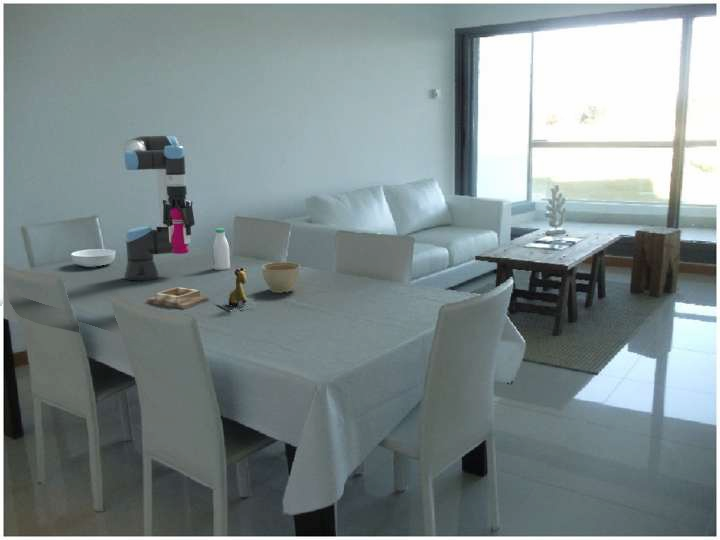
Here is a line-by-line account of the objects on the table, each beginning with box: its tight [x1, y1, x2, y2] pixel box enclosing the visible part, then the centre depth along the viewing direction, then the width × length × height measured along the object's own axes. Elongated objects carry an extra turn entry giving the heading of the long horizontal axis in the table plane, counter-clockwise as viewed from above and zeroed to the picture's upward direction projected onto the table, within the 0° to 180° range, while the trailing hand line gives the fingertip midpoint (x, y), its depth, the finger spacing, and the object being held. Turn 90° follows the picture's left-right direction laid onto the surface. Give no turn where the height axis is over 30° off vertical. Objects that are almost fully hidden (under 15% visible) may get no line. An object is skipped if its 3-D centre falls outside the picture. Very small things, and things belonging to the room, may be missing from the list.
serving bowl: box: [70, 248, 116, 268], centre depth 342 cm, size 21×21×7 cm
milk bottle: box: [212, 227, 231, 271], centre depth 333 cm, size 8×8×20 cm
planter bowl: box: [261, 261, 301, 294], centre depth 290 cm, size 16×16×11 cm
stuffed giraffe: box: [215, 267, 255, 312], centre depth 268 cm, size 16×18×16 cm
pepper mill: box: [170, 208, 190, 255], centre depth 271 cm, size 7×7×20 cm
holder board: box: [146, 286, 210, 310], centre depth 273 cm, size 20×14×4 cm
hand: (179, 242), depth 272 cm, fingers closed on pepper mill, 7 cm apart
